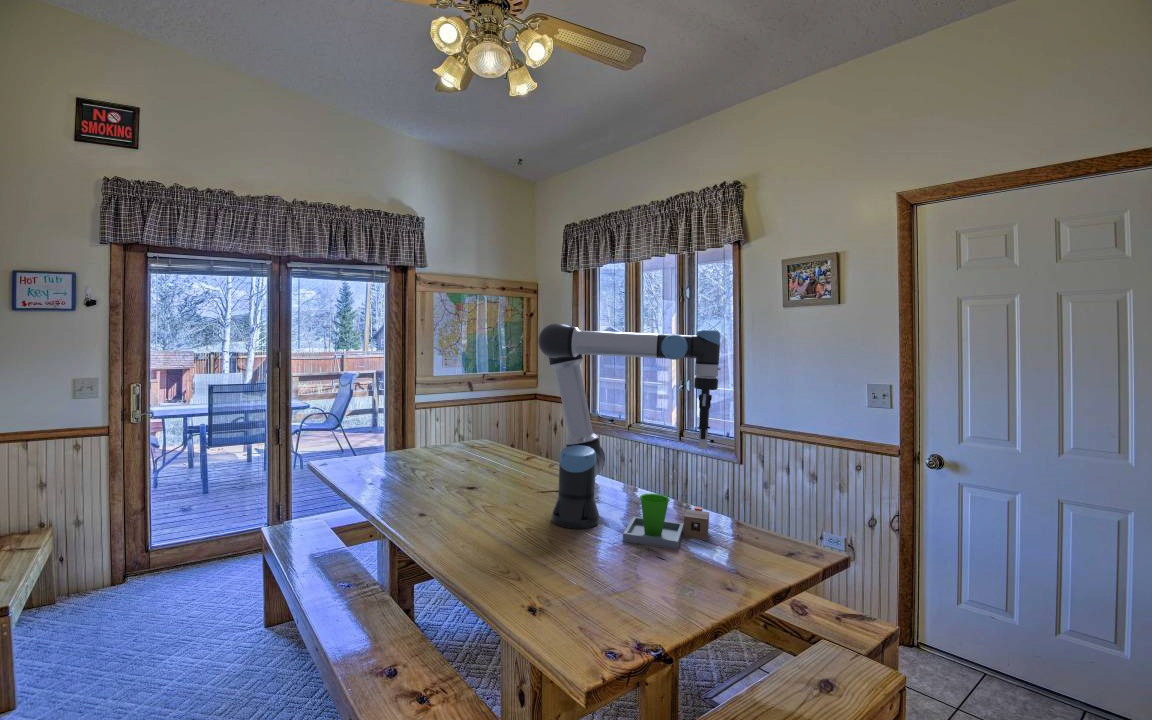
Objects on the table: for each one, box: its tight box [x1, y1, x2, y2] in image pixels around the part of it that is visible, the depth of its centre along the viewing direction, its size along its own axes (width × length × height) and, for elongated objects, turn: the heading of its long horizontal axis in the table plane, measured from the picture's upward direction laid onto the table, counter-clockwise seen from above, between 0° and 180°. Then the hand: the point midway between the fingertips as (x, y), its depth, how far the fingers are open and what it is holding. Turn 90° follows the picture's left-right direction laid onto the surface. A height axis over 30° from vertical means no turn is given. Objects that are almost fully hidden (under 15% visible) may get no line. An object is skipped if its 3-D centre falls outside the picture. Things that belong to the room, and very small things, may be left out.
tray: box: [622, 516, 684, 550], centre depth 165 cm, size 16×16×2 cm
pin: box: [692, 506, 703, 529], centre depth 169 cm, size 10×2×5 cm, turn 163°
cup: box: [639, 493, 671, 537], centre depth 165 cm, size 9×9×11 cm
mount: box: [682, 508, 710, 541], centre depth 167 cm, size 7×7×6 cm
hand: (702, 448), depth 178 cm, fingers closed
